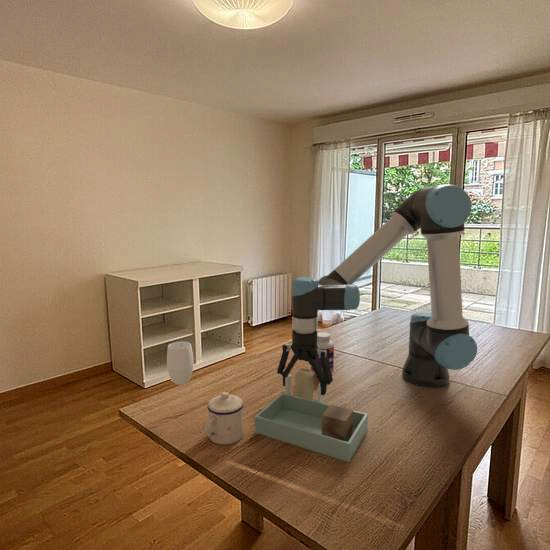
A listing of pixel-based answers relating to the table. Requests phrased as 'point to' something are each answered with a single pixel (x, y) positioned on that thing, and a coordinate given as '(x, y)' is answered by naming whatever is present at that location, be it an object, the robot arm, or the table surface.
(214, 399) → the teacup with lid
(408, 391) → the table surface
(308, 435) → the tote
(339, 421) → the walnut block
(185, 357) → the grey rounded cylinder
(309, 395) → the candle
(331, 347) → the pill bottle
